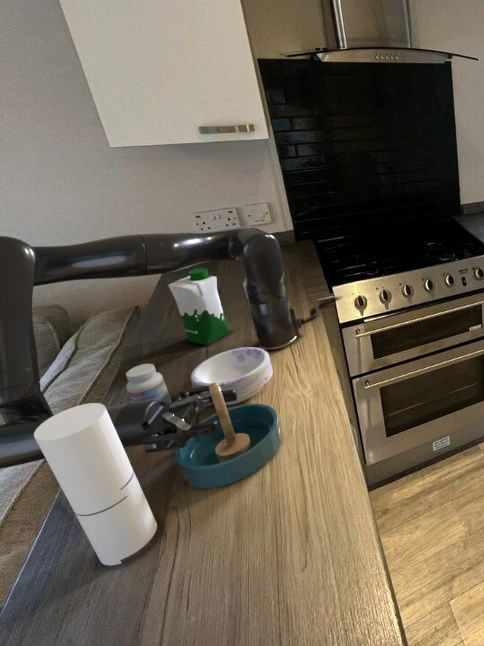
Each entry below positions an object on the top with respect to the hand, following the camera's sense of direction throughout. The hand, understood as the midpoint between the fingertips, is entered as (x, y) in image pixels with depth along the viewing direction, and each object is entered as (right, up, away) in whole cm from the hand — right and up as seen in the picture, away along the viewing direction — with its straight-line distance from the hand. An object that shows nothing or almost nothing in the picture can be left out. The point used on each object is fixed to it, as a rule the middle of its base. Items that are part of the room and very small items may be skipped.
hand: (227, 409), depth 83 cm
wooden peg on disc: (-1, -10, +3) cm, 10 cm away
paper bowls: (-12, -4, +21) cm, 25 cm away
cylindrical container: (-7, -17, -13) cm, 22 cm away
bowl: (-1, -10, +4) cm, 11 cm away
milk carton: (-36, +5, +43) cm, 56 cm away
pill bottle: (-27, -6, +15) cm, 31 cm away
